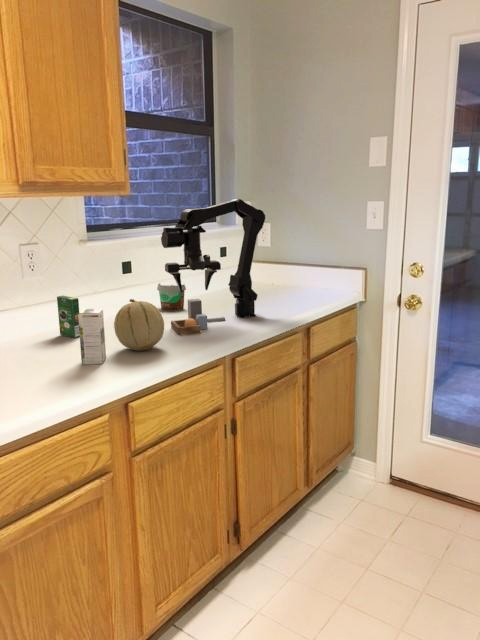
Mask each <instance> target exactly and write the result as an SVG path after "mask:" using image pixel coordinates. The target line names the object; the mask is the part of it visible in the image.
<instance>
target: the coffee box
mask: <svg viewBox="0 0 480 640" xmlns="http://www.w3.org/2000/svg"><path fill="white" fill-rule="evenodd" d="M56 301H57V302H56V304H57V311H58V312H57V313H58V325H59V335H61V336H63V337H69V338H71V339H72V338H73V339H78V338H80V333H79V319H78V314H79V313H80V304H79V303H80V301H79V298H78V297H72V296H67V295H58V296H56Z"/></svg>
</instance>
